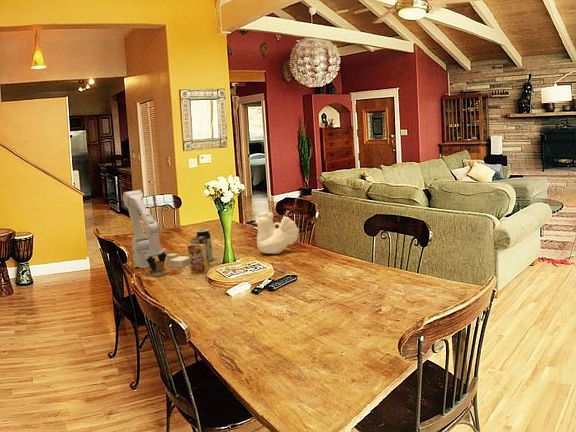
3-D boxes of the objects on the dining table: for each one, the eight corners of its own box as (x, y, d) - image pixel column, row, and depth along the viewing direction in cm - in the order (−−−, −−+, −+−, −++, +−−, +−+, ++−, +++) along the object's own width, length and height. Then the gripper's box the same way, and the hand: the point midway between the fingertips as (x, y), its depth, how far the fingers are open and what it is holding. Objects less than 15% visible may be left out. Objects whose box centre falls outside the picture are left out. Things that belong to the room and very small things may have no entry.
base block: (170, 267, 308) (169, 260, 307) (181, 262, 316) (180, 256, 315) (182, 268, 303) (181, 261, 303) (192, 263, 311) (192, 257, 310)
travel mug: (196, 262, 312) (193, 231, 309) (203, 258, 319) (200, 228, 316) (208, 262, 309) (205, 231, 306) (215, 258, 316) (212, 228, 313)
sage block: (167, 264, 315) (166, 255, 314) (171, 261, 319) (170, 253, 318) (175, 263, 313) (174, 255, 312) (179, 261, 318) (177, 253, 317)
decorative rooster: (253, 256, 314) (249, 214, 310) (265, 249, 328) (261, 209, 324) (293, 257, 304) (289, 213, 300) (303, 250, 318) (299, 208, 314)
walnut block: (151, 271, 300) (150, 263, 299) (158, 269, 304) (157, 260, 303) (157, 272, 297) (156, 263, 296) (164, 270, 301) (163, 261, 300)
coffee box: (204, 268, 298) (201, 239, 295) (193, 268, 299) (189, 239, 296) (210, 263, 307) (206, 235, 304) (199, 263, 308) (195, 236, 305)
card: (145, 275, 292) (145, 274, 292) (155, 272, 298) (155, 271, 298) (158, 277, 287) (158, 276, 287) (168, 273, 292) (168, 273, 292)
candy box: (190, 273, 290) (186, 245, 287) (193, 270, 294) (190, 243, 291) (205, 273, 287) (202, 245, 284) (208, 270, 291) (205, 243, 288)
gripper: (149, 248, 290) (152, 272, 292) (169, 241, 301) (172, 265, 304) (140, 247, 294) (143, 271, 296) (160, 241, 305) (163, 264, 308)
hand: (157, 268), depth 300 cm, fingers open, 6 cm apart
